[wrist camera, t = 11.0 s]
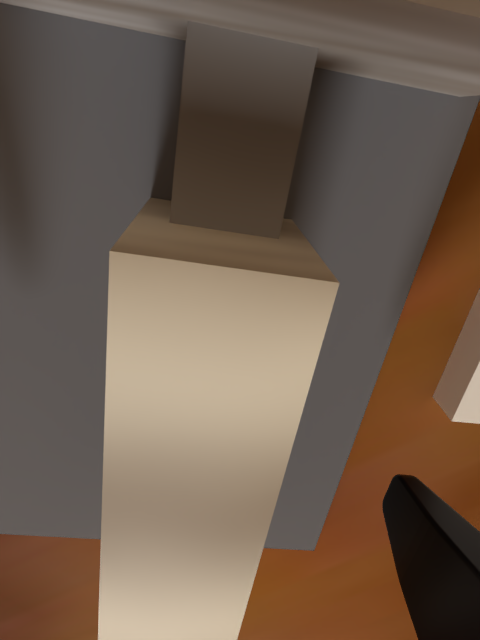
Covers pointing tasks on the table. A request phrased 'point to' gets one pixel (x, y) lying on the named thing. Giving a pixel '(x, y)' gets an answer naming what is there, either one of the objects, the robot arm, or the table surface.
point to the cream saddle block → (229, 292)
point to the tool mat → (157, 182)
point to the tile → (463, 373)
